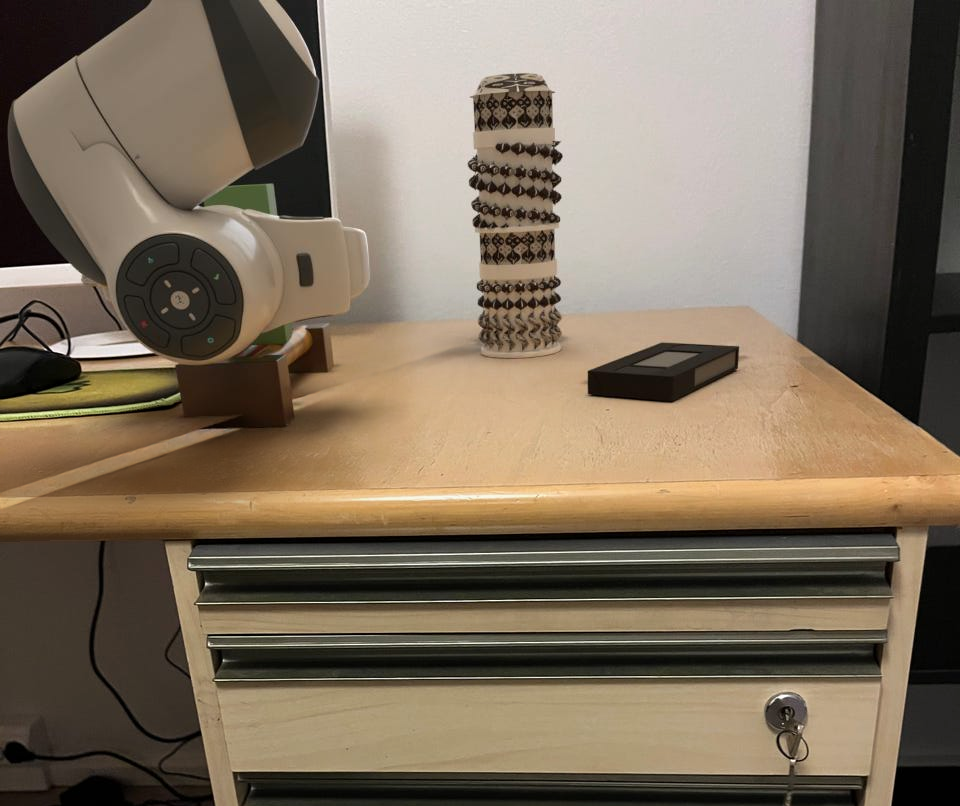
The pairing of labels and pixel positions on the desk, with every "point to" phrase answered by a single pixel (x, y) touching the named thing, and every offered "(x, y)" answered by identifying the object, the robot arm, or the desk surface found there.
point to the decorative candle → (516, 215)
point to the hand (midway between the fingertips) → (249, 258)
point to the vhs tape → (663, 371)
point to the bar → (262, 201)
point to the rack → (255, 380)
